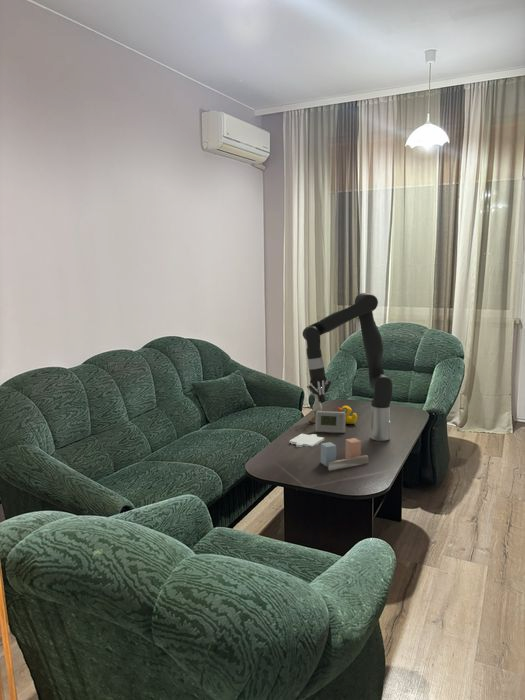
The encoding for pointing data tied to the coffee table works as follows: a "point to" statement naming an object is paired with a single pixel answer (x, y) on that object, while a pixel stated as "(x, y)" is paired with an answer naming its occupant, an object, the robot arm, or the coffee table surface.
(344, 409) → the duckling
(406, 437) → the coffee table surface
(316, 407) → the candle holder
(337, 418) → the digital clock
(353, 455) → the reddish brown block
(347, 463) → the wooden tray
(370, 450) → the coffee table surface
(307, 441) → the mounting plate
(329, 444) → the grey blue rectangular block
